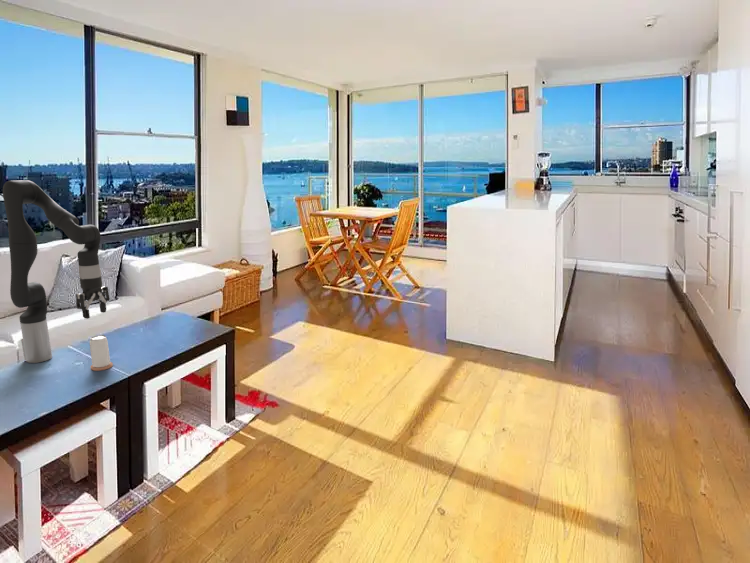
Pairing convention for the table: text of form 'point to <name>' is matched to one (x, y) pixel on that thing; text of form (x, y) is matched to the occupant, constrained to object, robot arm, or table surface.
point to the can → (99, 351)
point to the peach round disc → (102, 367)
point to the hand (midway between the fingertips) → (95, 315)
